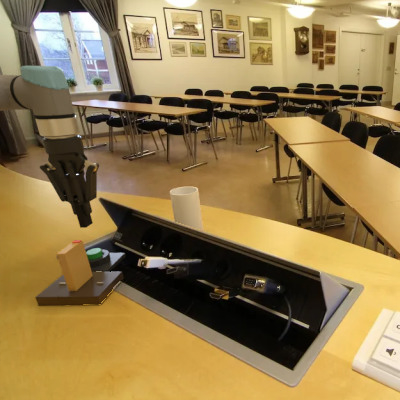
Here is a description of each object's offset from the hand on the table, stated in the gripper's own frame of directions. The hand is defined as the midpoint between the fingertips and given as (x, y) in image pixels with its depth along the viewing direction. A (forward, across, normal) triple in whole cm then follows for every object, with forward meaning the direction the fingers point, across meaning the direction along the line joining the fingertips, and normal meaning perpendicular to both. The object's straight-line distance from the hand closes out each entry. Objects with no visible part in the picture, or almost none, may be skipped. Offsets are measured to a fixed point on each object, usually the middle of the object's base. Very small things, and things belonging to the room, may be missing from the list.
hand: (86, 225), depth 85 cm
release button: (+10, 0, 0) cm, 10 cm away
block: (+12, 0, 0) cm, 12 cm away
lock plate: (+12, -4, +12) cm, 18 cm away
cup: (+13, -20, -17) cm, 29 cm away
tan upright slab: (+10, -4, +12) cm, 16 cm away
